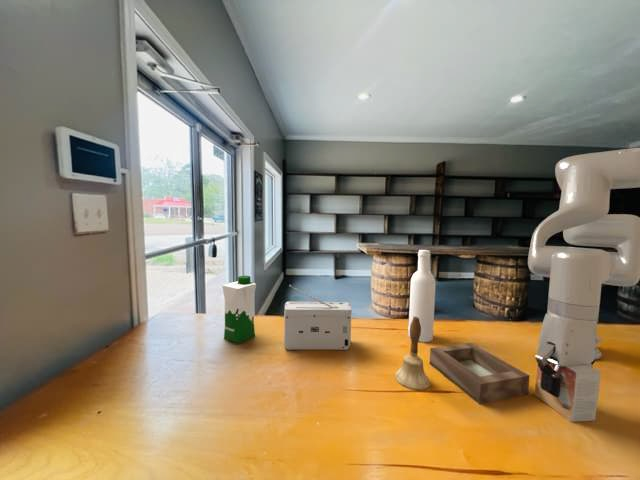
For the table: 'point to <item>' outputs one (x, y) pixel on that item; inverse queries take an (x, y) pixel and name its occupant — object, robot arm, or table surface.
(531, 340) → the table surface
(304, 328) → the stereo radio cassette player
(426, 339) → the bottle
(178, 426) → the table surface
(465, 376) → the well block
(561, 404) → the small box
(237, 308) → the milk carton
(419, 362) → the hand bell
